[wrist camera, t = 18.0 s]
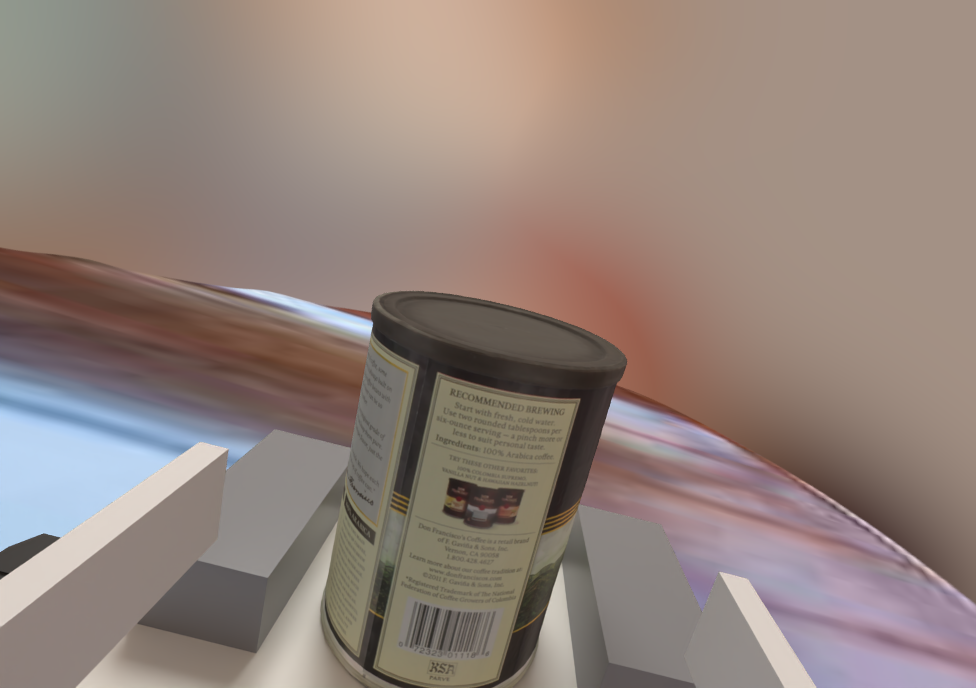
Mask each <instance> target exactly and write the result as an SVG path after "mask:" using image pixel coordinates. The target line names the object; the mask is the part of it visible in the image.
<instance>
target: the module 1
mask: <svg viewBox="0 0 976 688" xmlns="http://www.w3.org/2000/svg"><path fill="white" fill-rule="evenodd" d="M350 450H351V448H348V447H344V446H340V445H336V444H332V443H328V442H324V441H320V440H316V439H312V438H308V437H304V436H300V435H296V434H292V433H288V432H283V431H279V430H274V431H273V432H271V433H270V434H269V435H268V436H267V437H265V438H264V439H263V440H262V441H261V442H259V443H258V444H257V445H256V446H255V447H254V448H252V449H251V450H250V451H249V452H248V453H246V454H245V455H244V456H243V457H242V458H241V459H239V460H238V461H237V462H236V463H235V464H233V465H232V466H231V467H230V468H229V469H227V470H226V473H225V481H224V489H223V497H222V506H221V514H220V522H219V530H218V538H217V540H216V541H215V542H214V543H213V544H212V545H211V546H210V547H209V548H208V549H207V550H206V551H205V552H204V554H203V555H202V556H201V557H200V558H199V559H198V560H197V561H196V562H195V563H194V564H193V565H192V566H191V567H190V568H189V569H188V570H187V571H186V572H185V573H184V575H183V576H182V577H181V578H180V579H179V580H178V581H177V582H176V583H175V584H174V585H173V586H172V587H171V588H170V589H169V590H168V591H167V592H166V593H165V594H164V596H163V597H162V598H161V599H160V600H159V601H158V602H157V603H156V604H155V605H154V606H153V607H152V608H151V609H150V610H149V611H148V612H147V613H146V614H145V615H144V617H143V618H142V619H141V620H140V621H139V622H138V623H137V624H140V625H144V626H148V627H152V628H156V629H160V630H164V631H168V632H172V633H176V634H180V635H184V636H188V637H192V638H196V639H200V640H204V641H208V642H212V643H216V644H220V645H224V646H228V647H232V648H236V649H240V650H245V651H249V652H253V653H257V651H258V650H259V648H260V647H261V645H262V643H263V642H264V640H265V638H266V637H267V635H268V634H269V632H270V630H271V629H272V627H273V625H274V624H275V622H276V620H277V619H278V617H279V616H280V614H281V612H282V611H283V609H284V607H285V606H286V604H287V603H288V601H289V599H290V598H291V596H292V594H293V593H294V591H295V589H296V588H297V586H298V585H299V583H300V581H301V580H302V578H303V576H304V575H305V573H306V572H307V570H308V568H309V567H310V565H311V563H312V562H313V560H314V558H315V557H316V555H317V554H318V552H319V550H320V549H321V547H322V545H323V544H324V542H325V541H326V539H327V537H328V536H329V534H330V532H331V531H332V529H333V527H334V526H335V524H336V523H337V521H338V517H339V511H340V506H341V500H342V495H343V490H344V484H345V477H346V473H347V467H348V461H349V456H350Z"/></svg>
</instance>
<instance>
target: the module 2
mask: <svg viewBox="0 0 976 688" xmlns="http://www.w3.org/2000/svg"><path fill="white" fill-rule="evenodd" d="M562 567H563V576H564V584H565V592H566V600H567V608H568V616H569V625H570V633H571V641H572V649H573V657H574V665H575V674H576V682H577V688H696V686H695V684H694V681H693V678H692V676H691V673H690V670H689V668H688V665H687V662H686V660H685V657H684V655H685V653H686V651H687V648H688V646H689V643H690V641H691V638H692V636H693V633H694V631H695V629H696V626H697V624H698V621H699V619H700V616H701V614H702V611H701V609H700V607H699V605H698V602H697V600H696V598H695V596H694V594H693V592H692V590H691V587H690V585H689V583H688V581H687V579H686V577H685V575H684V572H683V570H682V568H681V566H680V564H679V562H678V560H677V557H676V555H675V553H674V551H673V549H672V547H671V545H670V542H669V540H668V538H667V536H666V534H665V532H664V530H663V527H662V525H661V524H657V523H653V522H649V521H645V520H641V519H637V518H633V517H628V516H624V515H620V514H616V513H612V512H608V511H604V510H600V509H596V508H592V507H588V506H584V505H580V504H579V506H578V509H577V513H576V516H575V519H574V523H573V526H572V529H571V533H570V536H569V539H568V543H567V546H566V549H565V553H564V556H563V560H562Z"/></svg>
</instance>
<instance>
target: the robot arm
mask: <svg viewBox="0 0 976 688" xmlns="http://www.w3.org/2000/svg"><path fill="white" fill-rule="evenodd" d="M227 457H228V449H227V448H223V447H219V446H215V445H211V444H207V443H203V442H199V443H198V444H196V445H195V446H193V447H192V448H190V449H189V450H187V451H186V452H185V453H183V454H182V455H180V456H179V457H177V458H176V459H174V460H173V461H172V462H170V463H169V464H167V465H166V466H164V467H163V468H161V469H160V470H158V471H157V472H156V473H154V474H153V475H151V476H150V477H148V478H147V479H145V480H144V481H143V482H141V483H140V484H138V485H137V486H135V487H134V488H132V489H131V490H130V491H128V492H127V493H125V494H124V495H122V496H121V497H119V498H118V499H116V500H115V501H114V502H112V503H111V504H109V505H108V506H106V507H105V508H103V509H102V510H101V511H99V512H98V513H96V514H95V515H93V516H92V517H90V518H89V519H87V520H86V521H85V522H83V523H82V524H80V525H79V526H77V527H76V528H74V529H73V530H72V531H70V532H69V533H67V534H66V535H64V536H63V537H61V538H60V537H56V536H52V535H48V534H41V535H38V536H36V537H33V538H31V539H28V540H25V541H23V542H20V543H18V544H15V545H12V546H10V547H8V548H6V549H5V550H3V551H1V552H0V688H76V687H77V686H78V685H79V684H80V683H81V682H82V681H83V679H84V678H85V677H86V676H87V675H88V674H89V673H90V672H91V671H92V670H93V669H94V668H95V667H96V666H97V665H98V664H99V663H100V662H101V661H102V660H103V658H104V657H105V656H106V655H107V654H108V653H109V652H110V651H111V650H112V649H113V648H114V647H115V646H116V645H117V644H118V643H119V642H120V641H121V640H122V639H123V637H124V636H125V635H126V634H127V633H128V632H129V631H130V630H131V629H132V628H133V627H134V626H135V625H136V624H137V623H138V622H139V621H140V620H141V619H142V618H143V617H144V615H145V614H146V613H147V612H148V611H149V610H150V609H151V608H152V607H153V606H154V605H155V604H156V603H157V602H158V601H159V600H160V599H161V598H162V597H163V596H164V594H165V593H166V592H167V591H168V590H169V589H170V588H171V587H172V586H173V585H174V584H175V583H176V582H177V581H178V580H179V579H180V578H181V577H182V576H183V575H184V573H185V572H186V571H187V570H188V569H189V568H190V567H191V566H192V565H193V564H194V563H195V562H196V561H197V560H198V559H199V558H200V557H201V556H202V555H203V554H204V552H205V551H206V550H207V549H208V548H209V547H210V546H211V545H212V544H213V543H214V542H215V541H216V540H217V538H218V530H219V522H220V514H221V506H222V497H223V489H224V481H225V473H226V465H227ZM684 657H685V660H686V662H687V665H688V668H689V670H690V673H691V676H692V678H693V681H694V684H695V686H696V688H816V686H815V684H814V683H813V681H812V680H811V678H810V677H809V675H808V673H807V672H806V670H805V669H804V667H803V666H802V664H801V662H800V661H799V659H798V658H797V656H796V654H795V653H794V651H793V650H792V648H791V647H790V645H789V643H788V642H787V640H786V639H785V637H784V636H783V634H782V632H781V631H780V629H779V628H778V626H777V624H776V623H775V621H774V620H773V618H772V617H771V615H770V613H769V612H768V610H767V609H766V607H765V606H764V604H763V602H762V601H761V599H760V598H759V596H758V594H757V593H756V591H755V590H754V588H753V587H752V585H751V583H750V582H749V580H748V579H746V578H742V577H738V576H734V575H730V574H726V573H722V572H719V573H718V575H717V577H716V580H715V582H714V585H713V587H712V590H711V592H710V594H709V597H708V599H707V602H706V604H705V607H704V609H703V612H702V614H701V616H700V619H699V621H698V624H697V626H696V629H695V631H694V633H693V636H692V638H691V641H690V643H689V646H688V648H687V651H686V653H685V655H684Z"/></svg>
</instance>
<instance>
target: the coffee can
mask: <svg viewBox="0 0 976 688" xmlns="http://www.w3.org/2000/svg"><path fill="white" fill-rule="evenodd" d="M371 319H372V321H373V328H372V332H371V338H370V343H369V349H368V355H367V360H366V366H365V372H364V377H363V383H362V388H361V394H360V400H359V405H358V411H357V416H356V422H355V428H354V433H353V439H352V445H351V450H350V456H349V461H348V467H347V473H346V477H345V484H344V490H343V495H342V500H341V506H340V511H339V517H338V523H337V528H336V534H335V539H334V545H333V550H332V556H331V561H330V567H329V573H328V578H327V582H326V586H325V588H324V591H323V596H322V600H321V621H322V626H323V629H324V634H325V638H326V640H327V642H328V644H329V645H330V647H331V648H332V650H333V652H334V654H335V655H336V657H337V659H338V660H339V661H340V662H341V663H342V665H343V666H344V667H345V669H346V670H347V671H348V672H349V673H350V674H352V675H353V676H354V677H355V678H357V679H358V680H359V681H360V682H361V683H363V684H364V685H366V686H367V687H369V688H512V687H513V686H514V685H515V684H516V683H517V682H519V681H520V679H521V678H522V677H523V676H524V675H525V673H526V672H527V670H528V669H529V667H530V665H531V663H532V661H533V659H534V657H535V654H536V650H537V647H538V642H539V634H540V631H541V628H542V625H543V622H544V618H545V614H546V611H547V607H548V604H549V601H550V598H551V594H552V590H553V587H554V584H555V582H556V578H557V575H558V572H559V568H560V565H561V562H562V560H563V556H564V553H565V549H566V546H567V543H568V539H569V536H570V533H571V529H572V526H573V523H574V519H575V516H576V513H577V509H578V506H579V503H580V500H581V496H582V493H583V490H584V487H585V484H586V481H587V478H588V474H589V471H590V468H591V465H592V461H593V458H594V455H595V452H596V449H597V446H598V442H599V439H600V436H601V432H602V428H603V425H604V422H605V419H606V416H607V412H608V409H609V407H610V403H611V399H612V396H613V393H614V390H615V387H616V384H617V382H618V381H620V379H621V378H622V376H623V374H624V371H625V368H626V365H627V359H626V357H625V355H624V354H623V353H622V352H621V351H620V350H619V349H618V348H616V347H615V346H614V345H613V344H611V343H610V342H608V341H606V340H605V339H603V338H601V337H599V336H597V335H595V334H593V333H591V332H589V331H586V330H584V329H582V328H579V327H577V326H574V325H571V324H568V323H566V322H563V321H560V320H557V319H554V318H552V317H548V316H545V315H541V314H538V313H535V312H531V311H528V310H524V309H521V308H516V307H512V306H509V305H504V304H500V303H495V302H491V301H486V300H481V299H476V298H470V297H463V296H459V295H452V294H444V293H436V292H424V291H399V292H390V293H385V294H382V295H379V296H378V297H376V298H375V299H374V301H373V305H372V312H371Z"/></svg>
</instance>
